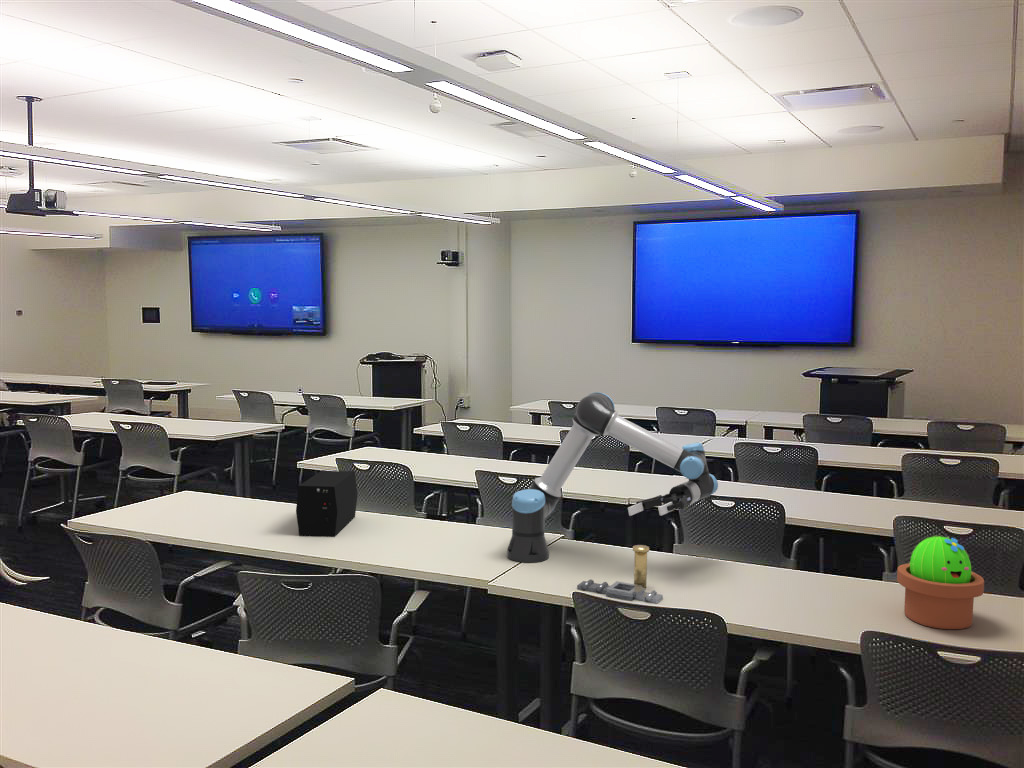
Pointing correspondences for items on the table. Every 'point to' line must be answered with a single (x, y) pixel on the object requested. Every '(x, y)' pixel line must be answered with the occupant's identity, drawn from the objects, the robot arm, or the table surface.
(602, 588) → the chain end left
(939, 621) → the potted cactus
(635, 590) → the chain end right
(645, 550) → the brass pin
